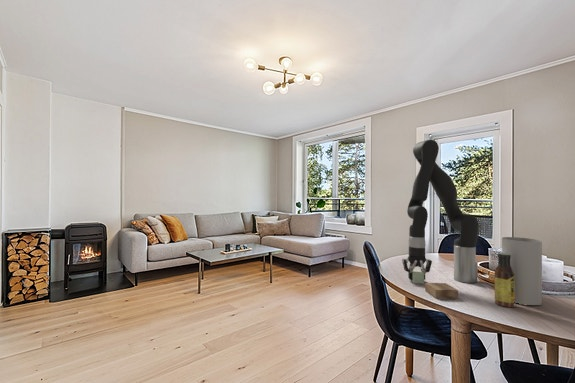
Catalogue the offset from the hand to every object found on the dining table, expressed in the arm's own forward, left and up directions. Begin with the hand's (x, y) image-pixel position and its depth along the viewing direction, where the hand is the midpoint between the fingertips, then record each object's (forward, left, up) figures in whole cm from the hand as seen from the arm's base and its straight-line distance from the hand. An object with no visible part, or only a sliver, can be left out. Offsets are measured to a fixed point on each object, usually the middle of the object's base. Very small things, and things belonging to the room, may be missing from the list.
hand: (416, 280), depth 138 cm
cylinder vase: (-33, +22, -1) cm, 40 cm away
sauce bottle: (-23, +27, -1) cm, 35 cm away
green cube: (0, 0, -1) cm, 1 cm away
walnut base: (-3, +18, -1) cm, 18 cm away
